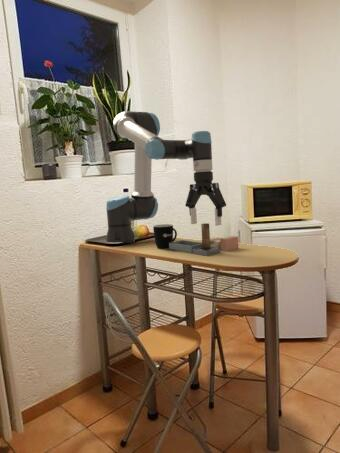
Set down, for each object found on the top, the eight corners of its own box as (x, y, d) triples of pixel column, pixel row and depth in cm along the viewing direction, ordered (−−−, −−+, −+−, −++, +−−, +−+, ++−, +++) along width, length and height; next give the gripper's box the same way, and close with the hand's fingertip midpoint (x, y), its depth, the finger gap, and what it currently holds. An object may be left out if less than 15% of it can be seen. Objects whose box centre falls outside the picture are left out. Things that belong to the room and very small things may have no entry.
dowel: (200, 253, 147) (199, 224, 146) (206, 251, 149) (205, 223, 148) (206, 254, 145) (205, 224, 143) (212, 252, 147) (210, 223, 145)
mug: (162, 250, 158) (161, 227, 157) (150, 247, 165) (149, 226, 164) (183, 246, 165) (182, 224, 164) (171, 244, 172) (170, 223, 171)
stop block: (220, 250, 150) (220, 238, 150) (233, 247, 155) (232, 236, 155) (226, 251, 148) (225, 239, 147) (238, 248, 153) (238, 236, 152)
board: (202, 248, 158) (201, 239, 158) (214, 245, 163) (214, 237, 163) (219, 251, 151) (218, 241, 150) (231, 248, 156) (231, 239, 155)
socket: (192, 253, 147) (192, 248, 147) (206, 250, 152) (205, 245, 152) (206, 255, 141) (206, 250, 141) (220, 252, 146) (220, 247, 146)
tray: (169, 249, 158) (168, 242, 158) (183, 246, 164) (182, 240, 163) (191, 253, 148) (191, 246, 147) (205, 250, 153) (205, 243, 152)
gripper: (175, 173, 150) (178, 224, 152) (220, 169, 131) (223, 227, 133) (188, 173, 155) (191, 222, 157) (233, 168, 136) (236, 224, 138)
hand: (205, 224), depth 145 cm, fingers open, 13 cm apart
